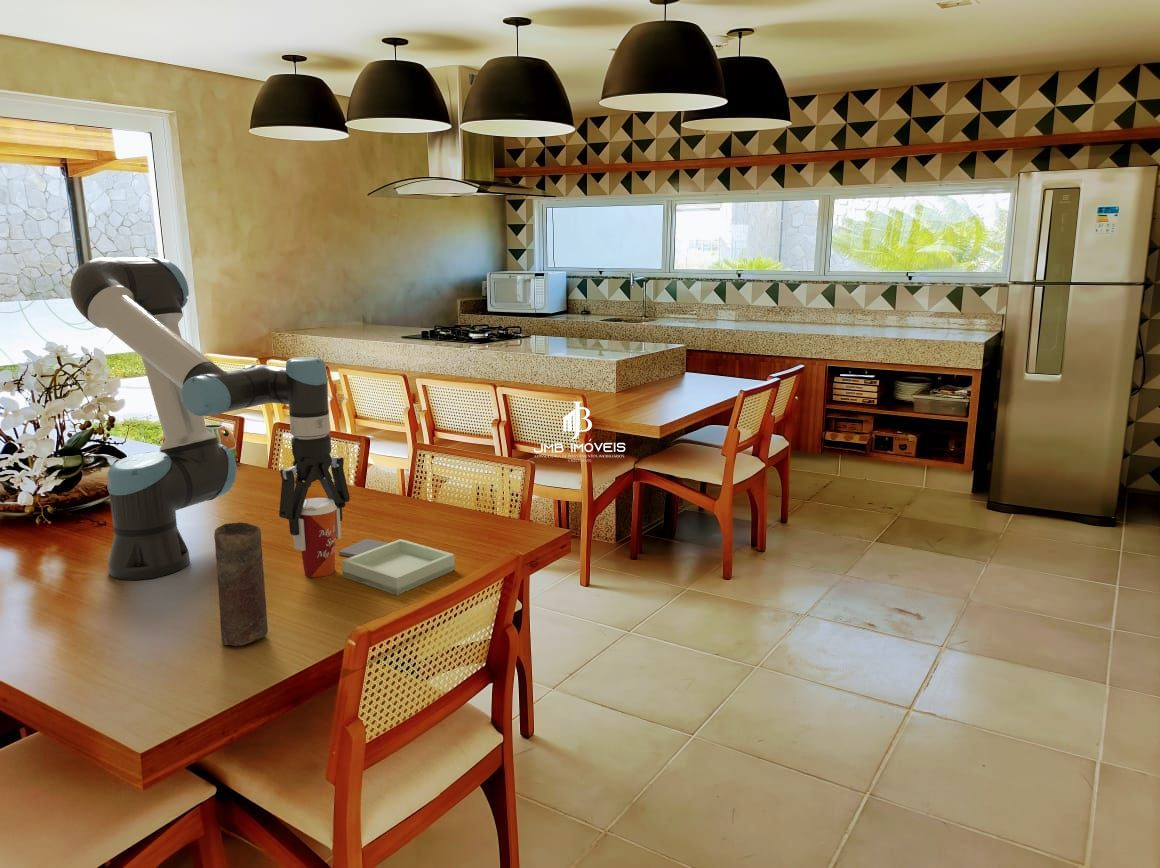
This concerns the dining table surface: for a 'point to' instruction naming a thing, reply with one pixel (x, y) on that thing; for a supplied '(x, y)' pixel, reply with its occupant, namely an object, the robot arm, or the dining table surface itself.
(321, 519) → the coffee cup
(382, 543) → the slate coaster
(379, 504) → the dining table surface
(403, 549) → the bin
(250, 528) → the grey brown tall cylinder
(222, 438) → the turtle holder
